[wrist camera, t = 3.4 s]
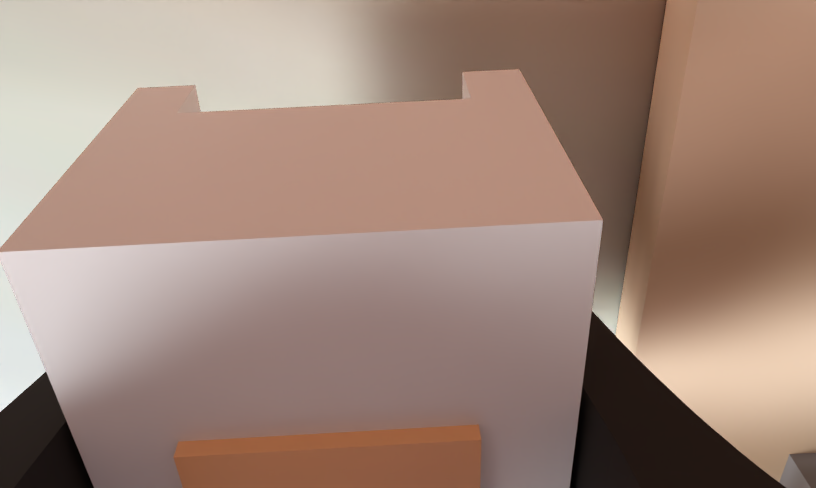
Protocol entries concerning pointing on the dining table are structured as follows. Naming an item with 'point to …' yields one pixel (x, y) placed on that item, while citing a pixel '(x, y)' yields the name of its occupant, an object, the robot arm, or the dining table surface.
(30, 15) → the dining table surface
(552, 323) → the block
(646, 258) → the rail board
